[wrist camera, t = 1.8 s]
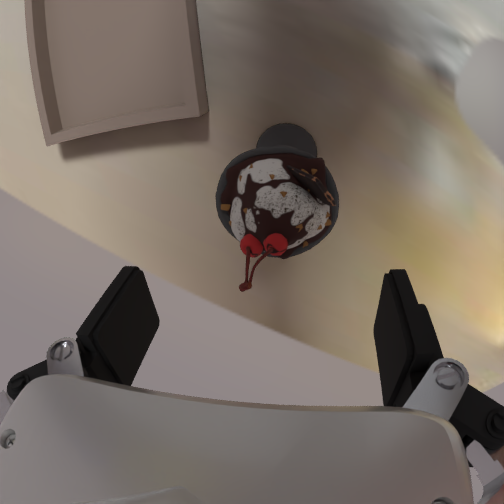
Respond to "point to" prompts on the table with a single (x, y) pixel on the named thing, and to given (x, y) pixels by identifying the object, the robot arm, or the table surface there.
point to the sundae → (277, 197)
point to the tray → (113, 64)
